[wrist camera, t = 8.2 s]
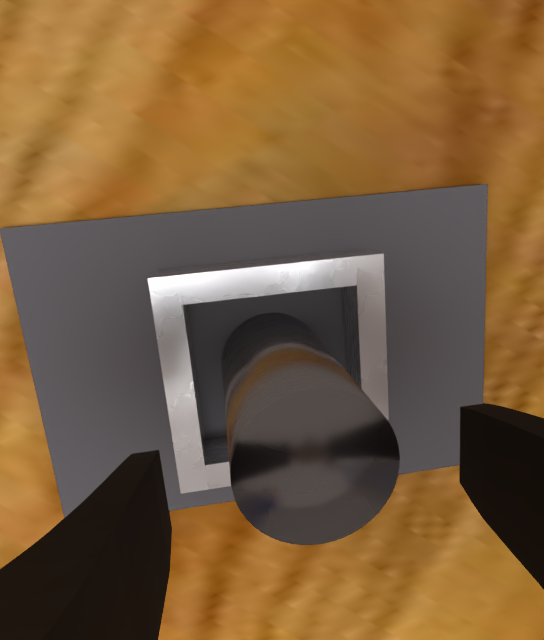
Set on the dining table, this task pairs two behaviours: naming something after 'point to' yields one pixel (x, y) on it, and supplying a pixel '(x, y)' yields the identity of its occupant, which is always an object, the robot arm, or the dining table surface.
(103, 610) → the robot arm
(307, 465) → the grey upright cylinder
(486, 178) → the dining table surface
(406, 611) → the dining table surface
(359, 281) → the steel socket
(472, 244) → the dock mat
